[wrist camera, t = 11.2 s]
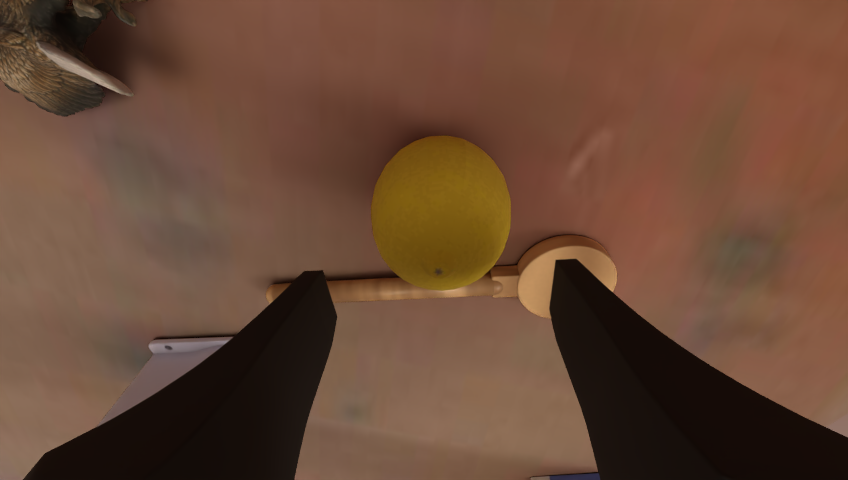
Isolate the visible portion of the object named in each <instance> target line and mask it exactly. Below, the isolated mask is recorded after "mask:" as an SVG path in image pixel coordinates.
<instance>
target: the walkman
mask: <svg viewBox="0 0 848 480" xmlns="http://www.w3.org/2000/svg"><path fill="white" fill-rule="evenodd" d="M531 480H600V476H599V473H592V474H574V475H556V476H543V477H531Z"/></svg>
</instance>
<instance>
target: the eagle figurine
mask: <svg viewBox="0 0 848 480" xmlns="http://www.w3.org/2000/svg"><path fill="white" fill-rule="evenodd" d="M133 1H140V2H146V1H147V0H73V6H68V7H66V5H68V4H69V1H68V0H0V79H1V80H2V81H3V82H4V83H5V86H6V87H7V88H8V89H10V90H12V91H14V92H18V93H21V94H23V95H24V97H25V98H26V99H27V100H28V101H30V102H34V103H35V104H36V105H37V106H39V107H40V108H42V109H44V110H46V111H48V112H52V113H54V114H56V115H61V116H68V115H71V114H75V112H79V111H83V110H85V108H93V107H97V106H99V105H100V103H102V98H103V97H105V93H104V92H103V88H102V87H100V86H98V85H96V84H95V82H96V83H98V84H100V85H102V86H104V87H106V88H109V89H111V90H113V91H115V92H117V93H120V94H123V95H127V96H134V93H133V92H132V91H131V90H130V89H129V88H128V87H127V86H126V85H125V84H124V83H122V82H121V81H120V80H118V79H116V78H115V77H113V76H111V75H110V74H108V73H106V72H104V71H102V70H100V69H97V68H96V67H95V66H94V65H93V64H92V63H91V61H90V60H89V59H88V58H87V57H86V56H85V55H84V54H83V53H82V50H83V47H84V44H85V43H86V40H87V38H88V37H89V36H91V34H92V33H94V32H95V31H96V30H97V28H98V25H99V24H100V23H101V20H105V19H106V15H107V14H108V12H109V11H110V10H111V9H112V10H113V11H114V13H115V14H116V16H117V17H118V18H119V19H120V20H121V21H123V22H125V23H126V24H128V25H130V26H133V27H135V26H136V25H137V22H136V19H135V17H134V16H133V15H132V14H131V13H130V12H128V11H126V10H124V9H123V7H122V6H121V3H130V2H133Z"/></svg>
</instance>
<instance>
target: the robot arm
mask: <svg viewBox="0 0 848 480" xmlns="http://www.w3.org/2000/svg"><path fill="white" fill-rule="evenodd" d="M549 311H550V315H551V320H552V325H553V329H554V333H555V337H556V341H557V344H558V346H559V349H560V352H561V355H562V357H563V360H564V363H565V366H566V368H567V371H568V374H569V377H570V379H571V382H572V385H573V387H574V390H575V393H576V395H577V398H578V401H579V404H580V406H581V409H582V412H583V416H584V419H585V422H586V425H587V429H588V433H589V437H590V441H591V444H592V448H593V452H594V456H595V460H596V464H597V468H598V472H599V476H600V480H848V437H845V436H843V435H841V434H839V433H837V432H835V431H832V430H830V429H828V428H826V427H824V426H822V425H820V424H817V423H815V422H813V421H811V420H809V419H807V418H805V417H803V416H801V415H799V414H797V413H795V412H793V411H791V410H789V409H787V408H785V407H783V406H781V405H779V404H777V403H776V402H774V401H772V400H770V399H768V398H766V397H764V396H762V395H760V394H759V393H757V392H755V391H753V390H751V389H750V388H748V387H746V386H744V385H742V384H741V383H739V382H737V381H735V380H734V379H732V378H730V377H729V376H727V375H725V374H724V373H722V372H720V371H719V370H717V369H715V368H714V367H712V366H710V365H709V364H707V363H706V362H704V361H702V360H701V359H699V358H698V357H696V356H695V355H693V354H692V353H690V352H689V351H687V350H686V349H684V348H683V347H681V346H680V345H678V344H677V343H676V342H674V341H673V340H671V339H670V338H668V337H667V336H666V335H664V334H663V333H662V332H660V331H659V330H658V329H656V328H655V327H654V326H652V325H651V324H650V323H649V322H647V321H646V320H645V319H643V318H642V317H641V316H640V315H638V314H637V313H636V312H635V311H634V310H632V309H631V308H630V307H629V306H628V305H626V304H625V303H624V302H623V301H622V300H621V299H620V298H618V297H617V296H616V295H615V294H614V293H613V292H612V291H611V290H609V289H608V288H607V287H606V286H605V285H604V284H603V283H602V282H601V281H600V280H599V279H598V278H597V277H596V276H594V275H593V274H592V273H591V272H590V271H589V270H588V269H587V268H586V267H585V266H584V265H583V264H582V263H581V262H580V261H579V260H577V259H558V260H555V268H554V275H553V283H552V291H551V298H550V306H549ZM336 320H337V314H336V311H335V308H334V305H333V301H332V298H331V295H330V292H329V288H328V285H327V282H326V279H325V276H324V272H323V270H320V271H304V272H303V273H302V274H301V275H300V276H299V277H297V278H296V279H295V280H294V281H293V282H292V283H291V284H290V285H289V286H288V287H287V288H286V289H285V290H284V291H283V292H282V293H281V294H280V295H279V296H278V297H277V298H276V299H275V300H274V301H273V302H272V303H271V304H270V305H268V306H267V307H266V308H265V309H264V310H263V311H262V312H261V313H260V314H259V315H258V316H257V317H256V318H255V319H253V320H252V321H251V322H250V323H249V324H248V325H247V326H245V327H244V328H243V329H242V330H241V331H240V332H239V333H237V334H236V335H235V336H234V337H214V338H188V339H162V340H152V341H151V342H150V344H149V345H148V347H149V349H150V350H151V351H152V353H153V355H152V357H151V358H150V359H149V360H148V362H147V363H146V364H145V366H144V367H143V368H142V369H141V371H140V372H139V373H138V374H137V376H136V377H135V378H134V380H133V381H132V382H131V383H130V385H129V386H128V387H127V388H126V390H125V391H124V392H123V394H122V395H121V396H120V397H119V399H118V400H117V401H116V403H115V404H114V405H113V406H112V408H111V409H110V410H109V411H108V413H107V414H106V415H105V417H104V418H103V419H102V420H101V422H100V423H99V424H98V426H97V427H96V428H94V429H92V430H90V431H88V432H86V433H84V434H82V435H80V436H78V437H76V438H74V439H72V440H71V441H69V442H67V443H65V444H63V445H61V446H59V447H57V448H55V449H53V450H51V451H49V452H47V453H45V454H44V455H43V456H42V458H41V459H40V460H39V461H38V462H37V463H36V465H35V466H34V467H33V468H32V469H31V471H30V472H29V473H28V474H27V475H26V477H25V478H24V479H23V480H294V478H295V473H296V468H297V463H298V458H299V454H300V449H301V445H302V440H303V436H304V432H305V427H306V423H307V420H308V416H309V413H310V410H311V407H312V404H313V401H314V398H315V395H316V392H317V389H318V386H319V383H320V380H321V377H322V374H323V371H324V368H325V365H326V362H327V359H328V356H329V353H330V349H331V346H332V342H333V337H334V332H335V326H336Z"/></svg>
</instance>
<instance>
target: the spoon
mask: <svg viewBox="0 0 848 480" xmlns="http://www.w3.org/2000/svg"><path fill="white" fill-rule="evenodd" d="M558 259H577V260H579V261H580V262H581V263H582V264H583V265H584V266H585V267H586V268H587V269H588V270H589V271H590V272H591V273H592V274H593V275H594V276H596V277H597V278H598V279H599V280H600V281H601V282H602V283H603V284H604V285H605V286H606V287H607V288H608V289H609V290H611V291H612V292H613V290H614V288H615V285H616V281H617V271H616V267H615V265H614V263H613V261H612V259H611V258H610V256H609V254H608V253H607V251H606V250H605V249H604V248H603V247H602V246H601V245H600V244H599V243H598V242H596V241H594V240H592V239H590V238H587V237H583V236H578V235H563V236H557V237H552V238H549V239H546V240H544V241H542V242H540V243H538V244H536V245H535V246H533V247H532V248H530V249H529V250H528V251H527V252H526V253H525V254H524V255H523V256H522V258H521V259H520V261H519V262H518V264H517V265H514V266H495V267H492V268H491V269H490V273H486V274H485V275H484V276H482V277H481V278H480V279H478V280H477V281H475V282H473V283H471V284H470V285H467V286H464V287H461V288H457V289H454V290H445V291H437V290H428V289H424V288H421V287H417V286H415V285H413V284H411V283H409V282H407V281H405V280H403V279H402V278H401V277H397V278H378V279H359V280H340V281H326V282H327V285H328V288H329V292H330V295H331V298H332V301H333V303H337V302H358V301H380V300H402V299H423V298H445V297H466V296H488V295H492V297H493V298H495V297H517V296H518V297H519V299H520V301H521V303H522V304H523V305H524V306H525V308H527V309H528V310H529V311H530V312H532V313H534V314H536V315H538V316H541V317H544V318H549V319H551V315H550V311H549V306H550V298H551V291H552V283H553V275H554V268H555V260H558ZM290 284H291V283H282V284H274V285H271V286H270V287H269V288H268V289H267V291H266V299H267V301H268V302H269V303H272V302H273V301H274V300H275V299H276V298H277V297H278V296H279V295H280V294H281V293H282V292H283V291H284V290H285V289H286V288H287V287H288V286H289V285H290Z"/></svg>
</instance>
